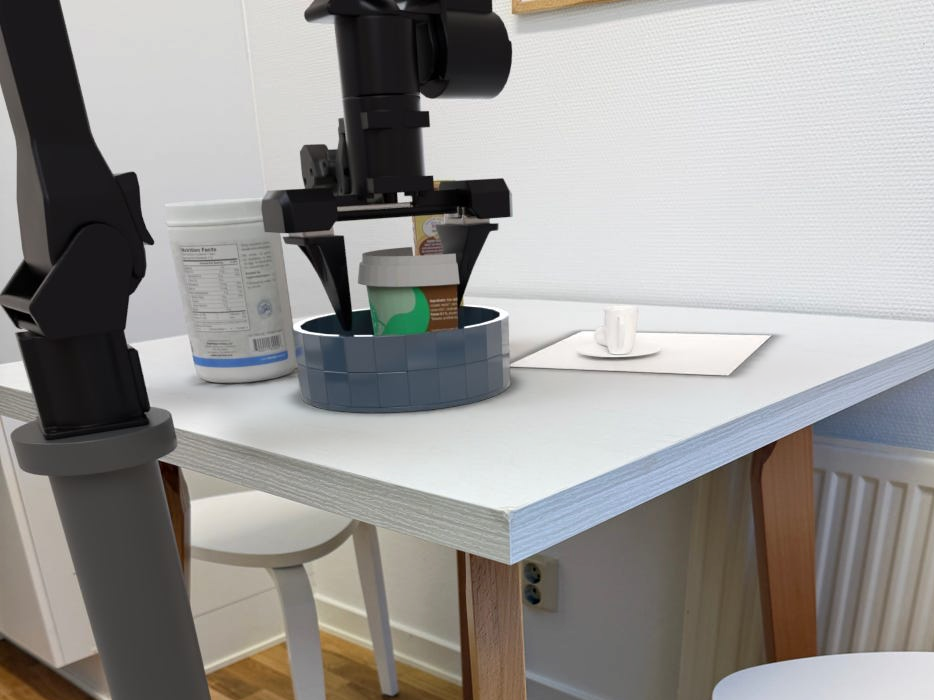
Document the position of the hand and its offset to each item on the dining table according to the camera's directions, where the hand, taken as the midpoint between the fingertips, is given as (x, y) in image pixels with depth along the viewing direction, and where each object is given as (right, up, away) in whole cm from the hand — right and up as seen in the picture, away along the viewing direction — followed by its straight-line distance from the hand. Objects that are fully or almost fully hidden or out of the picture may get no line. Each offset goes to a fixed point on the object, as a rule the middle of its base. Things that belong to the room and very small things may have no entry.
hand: (400, 324), depth 71 cm
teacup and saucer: (+22, +2, +13) cm, 26 cm away
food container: (0, -4, +2) cm, 5 cm away
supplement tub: (-15, -1, +11) cm, 19 cm away
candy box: (+3, +3, +17) cm, 17 cm away
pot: (0, -5, +2) cm, 5 cm away
